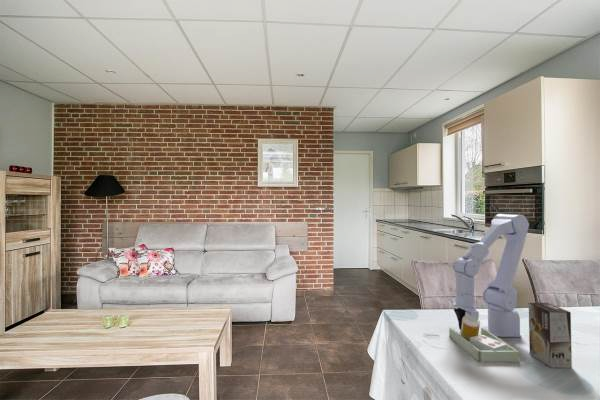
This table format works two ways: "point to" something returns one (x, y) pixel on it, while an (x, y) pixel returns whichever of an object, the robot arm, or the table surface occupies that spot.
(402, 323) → the table surface
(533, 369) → the table surface
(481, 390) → the table surface
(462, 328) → the supplement bottle
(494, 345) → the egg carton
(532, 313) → the coffee box
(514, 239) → the robot arm
